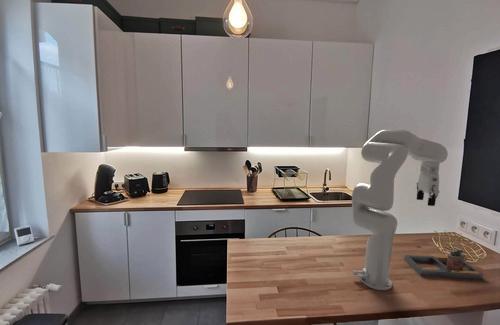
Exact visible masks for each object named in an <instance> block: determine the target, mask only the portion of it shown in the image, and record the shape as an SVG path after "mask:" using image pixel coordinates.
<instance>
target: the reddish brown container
mask: <svg viewBox="0 0 500 325" xmlns="http://www.w3.org/2000/svg"><path fill="white" fill-rule="evenodd" d="M447 257H448V260H447V263H446V267H447V268H449V269H450V270H457V271H464V268H463V261H465V258H466V255H465V254H464V249H462V248H459V249H456V248H454V249H452V250H450V253H448V254H447Z"/></svg>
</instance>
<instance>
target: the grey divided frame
mask: <svg viewBox="0 0 500 325" xmlns="http://www.w3.org/2000/svg"><path fill="white" fill-rule="evenodd" d="M403 260H404V261H405V262H406V263H407V264H408V265H409V266H410V267H411V268H412V269H413V270H414V271H415V272H416V273H417V274H418V275H419V276H420V277H434V278H451V279H452V278H454V279H472V280H478V279H479V280H483V277H484V273H482V272H481V271H480V270H478V269H477V268H476V267H474V266H472V265H471V264H470V263H468V262H467V261H466V260H464V261H463V267H462V268H463V269H465V270H462V271H457V270H450V269H449V268H447V265H445V264H447V260H448V256H447V255H445V256H442V255H440V256H439V255H434V256H433V255H415V254H414V255H413V254H411V255H409V254H404V257H403ZM417 262H418V263H432V264H433V265H434V266H435V267H437V268H438V269H425V268H422V267H421V266H420V265H419V264H418V263H417Z"/></svg>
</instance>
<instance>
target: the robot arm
mask: <svg viewBox="0 0 500 325" xmlns="http://www.w3.org/2000/svg"><path fill="white" fill-rule="evenodd" d="M360 152H361V153H360V154H361V158H362V159H363V161H366V162H369V163H376V164H379V165H377V166H376V167H375V168H374V169H373V170H372V172H371V174H370V181H369V183H366V182H361V183H358V184H356V185H355V186H354V188H353V190H352V193H351V210H352V211H351V214H352V215H351V216H352V221H353V223H354V225H356V226H357V227H358V228H362V229H364V230H367V231H370V232H372V233H373V234H372V235H371V236H369V237H368V239H367V242H366V247H365V249H366V250H365V260H364V267H362V269H360V270H356V269H355V270H352V275H353V276H357V278H358V279H359V280H360V281H361V282H362V284H364V285H365V286H366V287H369V288H371V289H372V290H376V291H388V290H390V289H391V288H392V287H393V281H392V280H391V278H390V270H391V261H392V259H391V258H392V251H393V242H394V238H395V234H396V231H397V228H398V219H397V218H396V217H395V216H394V215H393V214H392V213H390V212H387V211H390V210H391V209H392V208H393V205H394V200H395V199H394V198H395V193H394V192H395V186H394V185H395V177H396V175H397V173H398V171H399V170H400V169H401V167H402V166H403V164H404V163H405V162H406V160H407V158H408V156H411V158H412V159H413V160H415V161H420V162H421V164H420V171H419V172H420V174H419V177H418V180H417V182H416V200H417V201H423V200H424V198H425V193H426V194H428V199H427V206H429V207H435V206H436V199H438V196H439V194H440V189H439V188H440V187H439V186H440V175H439V170H440V165H441V163H443V162H446V160H447V158H448V154H449V153H448V149H447V148H446V146H444V145H443V144H442V143H440V142H436V141H431V140H427V139H424V138H421V137H418V136H417V135H415V134H414V133H412V132H411V131H408V130H406V129H382V130H380V131H378V132H377V133H375V134H374V135H373V136H372V137H371V138H370V139H368V140H367V141H366V142H365V143H364V145H363V146H362V148H361V150H360Z"/></svg>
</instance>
